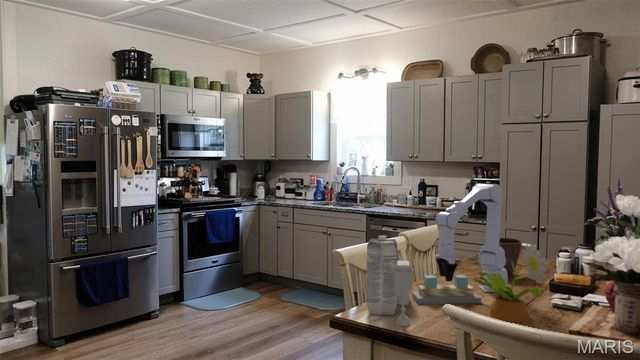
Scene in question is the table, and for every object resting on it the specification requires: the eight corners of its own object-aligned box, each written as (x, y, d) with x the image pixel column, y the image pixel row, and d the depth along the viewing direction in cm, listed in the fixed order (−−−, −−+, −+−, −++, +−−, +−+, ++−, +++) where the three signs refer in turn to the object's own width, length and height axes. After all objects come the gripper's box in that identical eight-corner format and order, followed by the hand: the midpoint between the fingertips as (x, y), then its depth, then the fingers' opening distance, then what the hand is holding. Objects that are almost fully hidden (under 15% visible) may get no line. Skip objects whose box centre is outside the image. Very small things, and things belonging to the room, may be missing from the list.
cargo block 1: (434, 285, 193) (434, 275, 193) (436, 288, 189) (436, 277, 189) (423, 285, 193) (423, 275, 193) (426, 288, 189) (426, 278, 189)
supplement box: (409, 305, 184) (409, 265, 183) (384, 304, 186) (384, 264, 185) (409, 298, 193) (410, 260, 192) (386, 297, 195) (386, 259, 194)
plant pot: (528, 275, 230) (528, 241, 230) (508, 279, 222) (508, 244, 221) (500, 269, 243) (500, 236, 242) (480, 273, 234) (480, 239, 234)
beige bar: (469, 292, 194) (469, 284, 194) (473, 296, 189) (473, 288, 189) (418, 293, 194) (418, 285, 193) (421, 296, 189) (421, 288, 188)
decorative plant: (561, 325, 162) (563, 249, 161) (494, 331, 157) (495, 252, 156) (512, 302, 188) (513, 236, 187) (454, 306, 183) (454, 238, 182)
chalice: (390, 320, 168) (390, 267, 167) (410, 319, 168) (410, 266, 167) (395, 327, 160) (395, 272, 160) (416, 327, 161) (416, 271, 160)
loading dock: (472, 295, 197) (472, 290, 197) (481, 303, 187) (481, 297, 187) (411, 296, 196) (412, 291, 196) (417, 303, 186) (417, 298, 186)
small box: (515, 264, 255) (516, 243, 255) (525, 263, 257) (525, 243, 256) (526, 267, 247) (527, 246, 247) (536, 266, 249) (536, 245, 249)
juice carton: (396, 317, 171) (397, 238, 170) (366, 315, 173) (366, 238, 171) (397, 309, 180) (397, 234, 178) (368, 307, 181) (368, 234, 180)
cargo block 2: (464, 285, 194) (464, 275, 193) (467, 287, 190) (467, 277, 189) (454, 285, 193) (454, 275, 193) (457, 288, 189) (457, 277, 189)
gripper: (431, 240, 198) (430, 274, 198) (441, 247, 183) (441, 283, 184) (448, 240, 198) (448, 274, 199) (460, 246, 183) (459, 283, 184)
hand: (446, 278), depth 191 cm, fingers open, 7 cm apart
